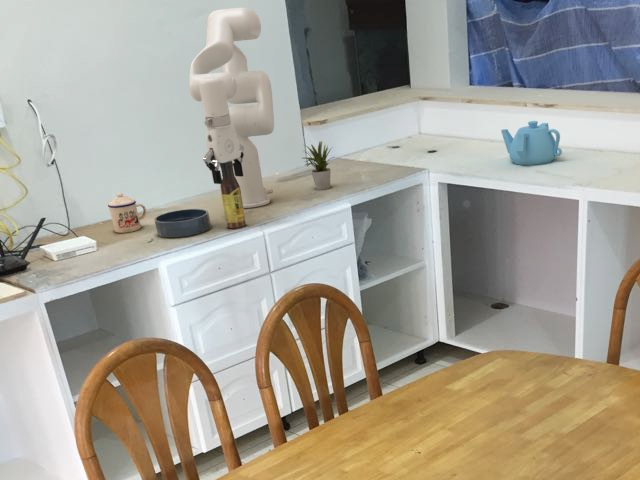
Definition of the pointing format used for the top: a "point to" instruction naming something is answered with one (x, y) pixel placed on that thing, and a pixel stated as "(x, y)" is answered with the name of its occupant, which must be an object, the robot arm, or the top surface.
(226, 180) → the sauce bottle
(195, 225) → the bowl
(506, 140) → the teapot
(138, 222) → the teacup with lid
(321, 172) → the house plant
